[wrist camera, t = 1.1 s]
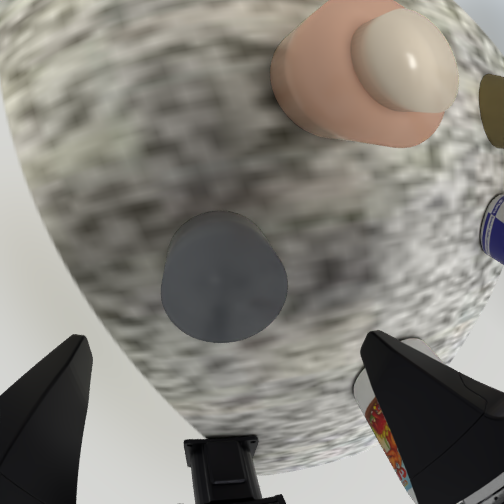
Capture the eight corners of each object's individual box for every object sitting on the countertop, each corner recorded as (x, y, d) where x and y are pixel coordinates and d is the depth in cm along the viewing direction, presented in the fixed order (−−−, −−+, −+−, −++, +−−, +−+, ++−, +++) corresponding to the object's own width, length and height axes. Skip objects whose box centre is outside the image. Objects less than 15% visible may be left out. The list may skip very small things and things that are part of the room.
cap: (261, 302, 14) (276, 340, 12) (168, 301, 13) (164, 342, 11) (276, 214, 12) (298, 238, 10) (168, 207, 11) (159, 231, 9)
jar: (372, 149, 12) (469, 174, 6) (262, 126, 11) (326, 123, 5) (383, 50, 10) (474, 31, 4) (277, 13, 8) (340, -54, 3)
